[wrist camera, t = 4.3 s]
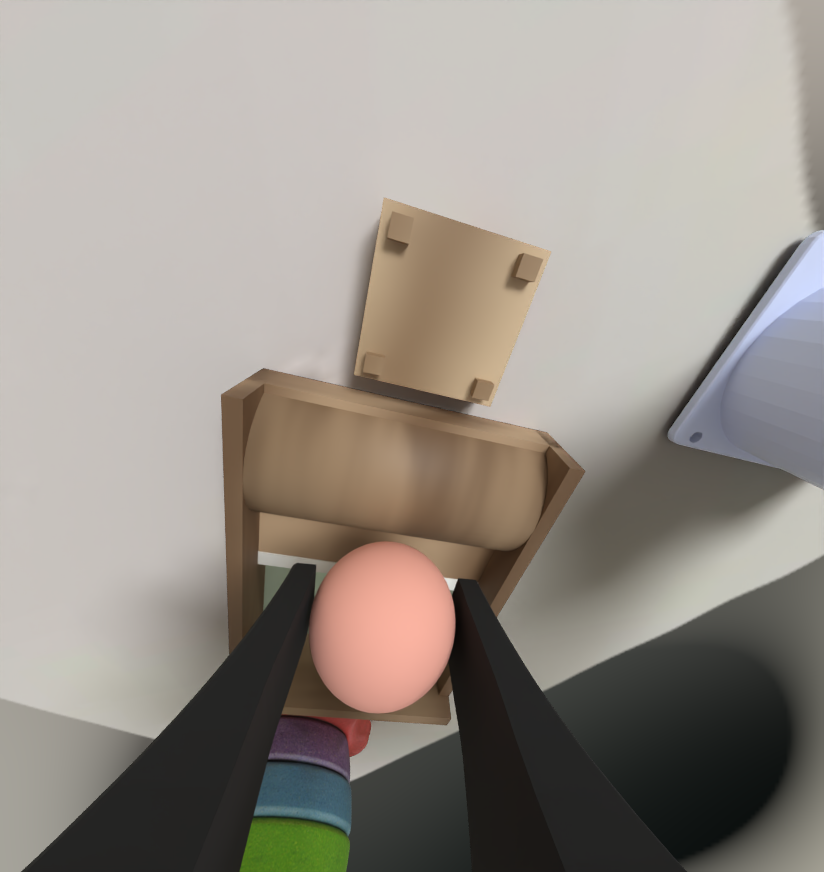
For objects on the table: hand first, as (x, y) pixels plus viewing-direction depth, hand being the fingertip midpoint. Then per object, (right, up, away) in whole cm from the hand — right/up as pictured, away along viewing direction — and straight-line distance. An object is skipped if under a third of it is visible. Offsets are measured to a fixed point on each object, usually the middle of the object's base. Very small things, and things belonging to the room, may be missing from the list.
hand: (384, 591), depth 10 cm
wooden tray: (-1, +1, +9) cm, 9 cm away
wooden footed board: (+2, +10, +1) cm, 10 cm away
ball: (0, 0, -1) cm, 1 cm away
